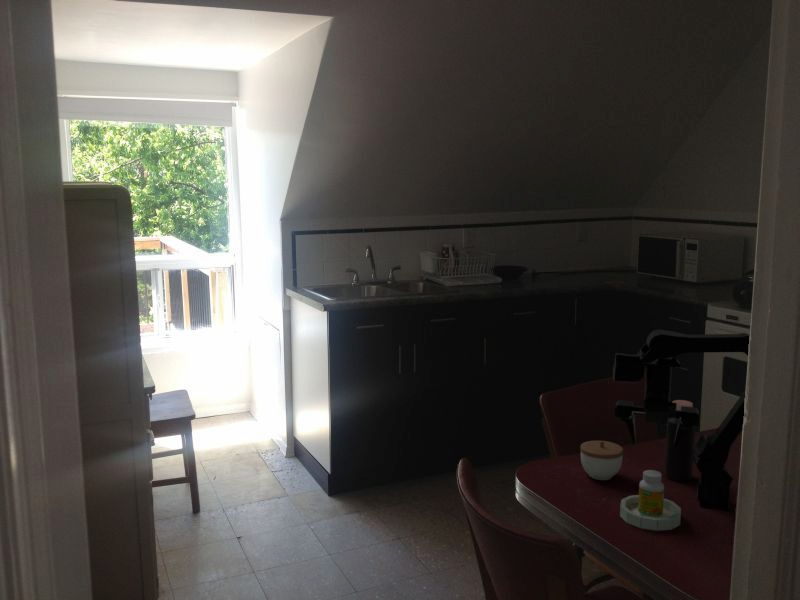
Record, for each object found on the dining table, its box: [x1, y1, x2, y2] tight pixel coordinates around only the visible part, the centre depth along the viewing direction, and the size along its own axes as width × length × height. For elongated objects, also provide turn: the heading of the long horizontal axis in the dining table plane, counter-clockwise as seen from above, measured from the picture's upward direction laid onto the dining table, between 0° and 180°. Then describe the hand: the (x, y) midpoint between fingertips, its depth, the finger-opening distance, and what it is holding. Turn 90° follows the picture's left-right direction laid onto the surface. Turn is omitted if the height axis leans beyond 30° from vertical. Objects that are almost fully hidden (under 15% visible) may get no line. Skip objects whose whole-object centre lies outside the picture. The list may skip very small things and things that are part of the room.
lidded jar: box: [579, 440, 624, 481], centre depth 193 cm, size 11×11×9 cm
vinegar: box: [664, 399, 696, 482], centre depth 191 cm, size 7×7×20 cm
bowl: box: [619, 494, 682, 532], centre depth 169 cm, size 13×13×2 cm
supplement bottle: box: [638, 469, 665, 518], centre depth 169 cm, size 5×5×10 cm
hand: (654, 446), depth 178 cm, fingers open, 9 cm apart
